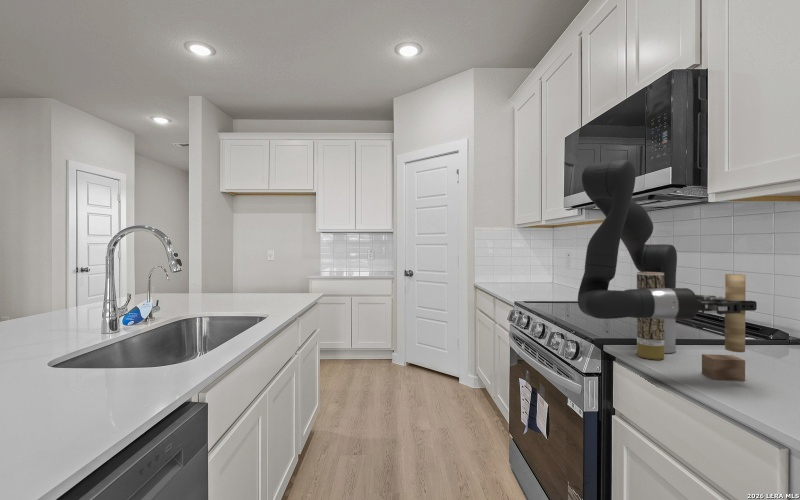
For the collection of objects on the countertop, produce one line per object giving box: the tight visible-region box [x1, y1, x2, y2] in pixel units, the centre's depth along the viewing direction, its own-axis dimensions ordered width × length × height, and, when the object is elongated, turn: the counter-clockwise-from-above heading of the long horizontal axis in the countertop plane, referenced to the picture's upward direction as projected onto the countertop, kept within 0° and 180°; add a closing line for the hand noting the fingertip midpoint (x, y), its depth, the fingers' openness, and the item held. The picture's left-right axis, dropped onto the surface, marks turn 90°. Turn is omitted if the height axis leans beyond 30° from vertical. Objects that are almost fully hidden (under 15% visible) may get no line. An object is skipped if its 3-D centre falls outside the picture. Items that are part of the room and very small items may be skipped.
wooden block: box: [701, 353, 746, 382], centre depth 95 cm, size 7×4×5 cm, turn 80°
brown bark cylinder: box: [636, 271, 665, 361], centre depth 113 cm, size 7×7×25 cm
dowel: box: [724, 273, 747, 353], centre depth 90 cm, size 4×4×18 cm
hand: (748, 304), depth 90 cm, fingers closed on dowel, 3 cm apart
